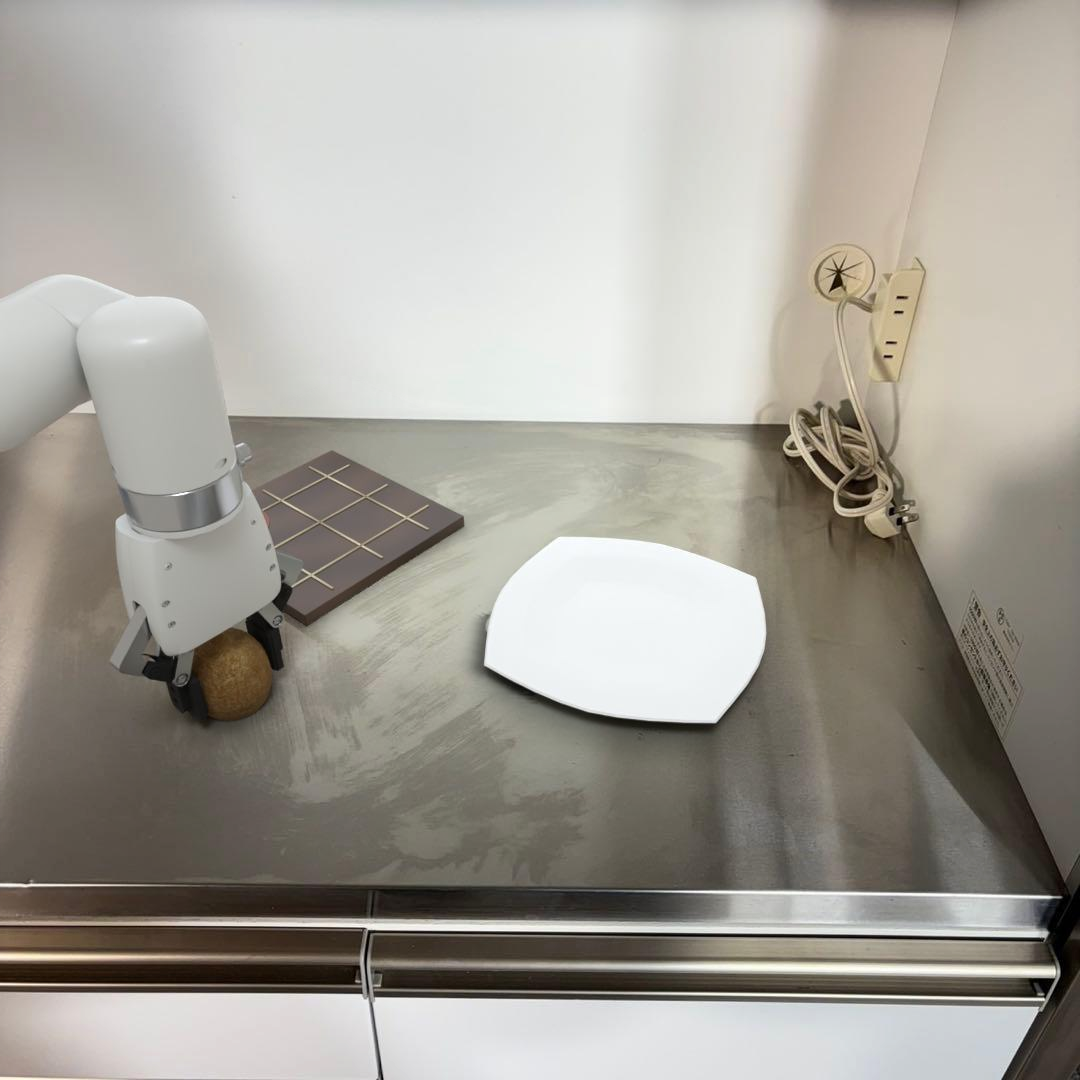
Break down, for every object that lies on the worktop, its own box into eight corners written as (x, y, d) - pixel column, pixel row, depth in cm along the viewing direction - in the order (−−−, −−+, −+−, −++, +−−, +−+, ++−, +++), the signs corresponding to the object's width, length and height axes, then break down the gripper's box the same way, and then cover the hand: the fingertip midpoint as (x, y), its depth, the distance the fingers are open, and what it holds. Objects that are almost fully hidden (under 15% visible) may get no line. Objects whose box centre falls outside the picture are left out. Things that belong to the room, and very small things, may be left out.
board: (174, 539, 95) (171, 528, 94) (333, 459, 107) (331, 448, 106) (306, 626, 84) (304, 614, 83) (464, 525, 97) (464, 514, 96)
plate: (543, 535, 95) (544, 519, 94) (781, 584, 89) (784, 567, 88) (449, 692, 78) (448, 674, 77) (736, 767, 72) (740, 749, 70)
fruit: (239, 674, 79) (221, 598, 75) (296, 703, 77) (280, 626, 72) (180, 721, 75) (156, 644, 70) (237, 754, 72) (217, 676, 68)
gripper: (255, 422, 71) (291, 610, 82) (26, 525, 60) (102, 726, 71) (322, 456, 67) (350, 649, 78) (90, 572, 56) (159, 778, 67)
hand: (231, 684), depth 74 cm, fingers closed on fruit, 6 cm apart
